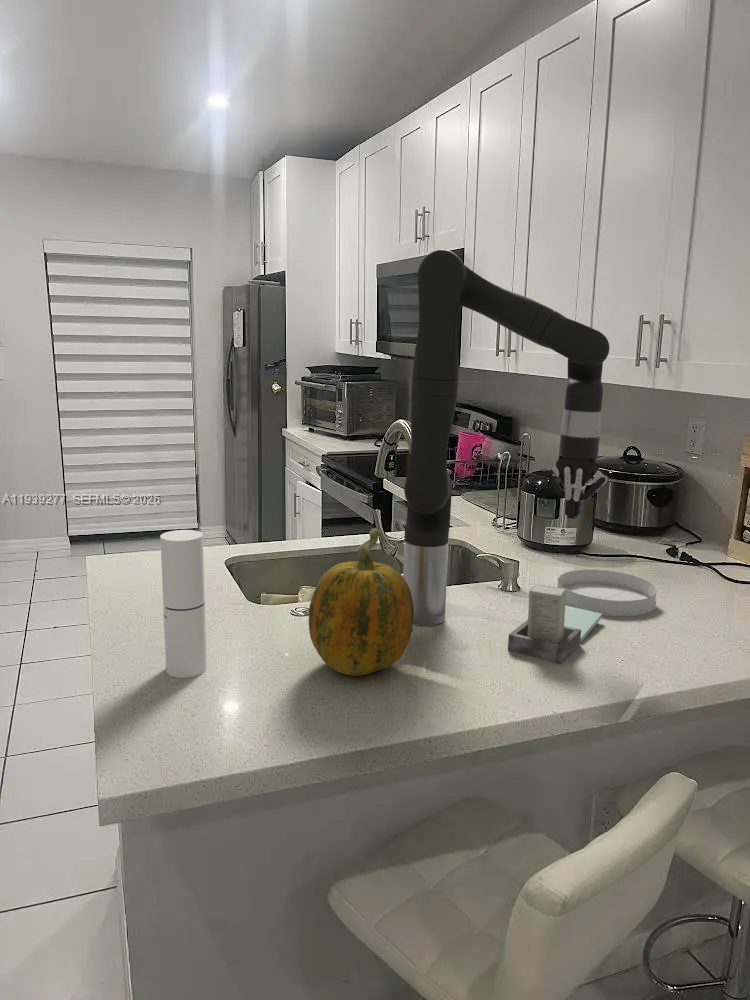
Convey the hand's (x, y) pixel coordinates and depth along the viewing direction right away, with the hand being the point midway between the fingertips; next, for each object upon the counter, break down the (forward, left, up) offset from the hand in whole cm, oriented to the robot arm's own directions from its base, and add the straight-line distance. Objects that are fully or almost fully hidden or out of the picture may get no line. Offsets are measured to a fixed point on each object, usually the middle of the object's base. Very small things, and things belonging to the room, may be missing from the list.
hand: (572, 518), depth 153 cm
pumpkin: (-24, -40, -24) cm, 53 cm away
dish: (+2, +21, -25) cm, 32 cm away
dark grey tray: (+1, -8, -24) cm, 25 cm away
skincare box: (+1, -14, -23) cm, 27 cm away
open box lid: (+1, -1, -22) cm, 22 cm away
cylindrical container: (-49, -59, -24) cm, 80 cm away
